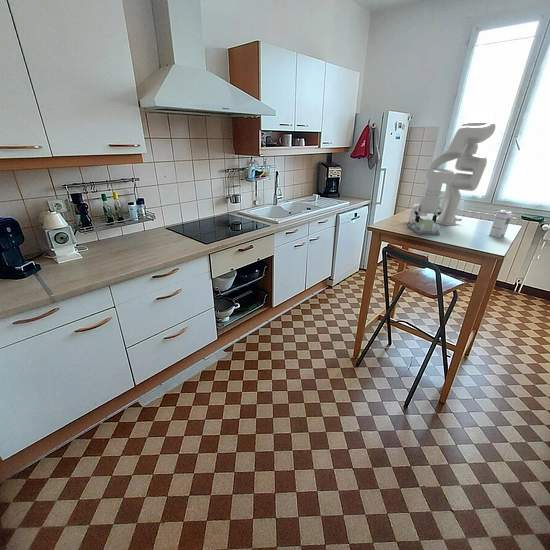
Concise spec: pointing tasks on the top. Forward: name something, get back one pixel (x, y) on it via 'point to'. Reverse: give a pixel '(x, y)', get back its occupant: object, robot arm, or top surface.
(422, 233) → the standoff plate
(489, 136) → the robot arm
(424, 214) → the photo printer
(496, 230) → the syrup box
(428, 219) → the green block
